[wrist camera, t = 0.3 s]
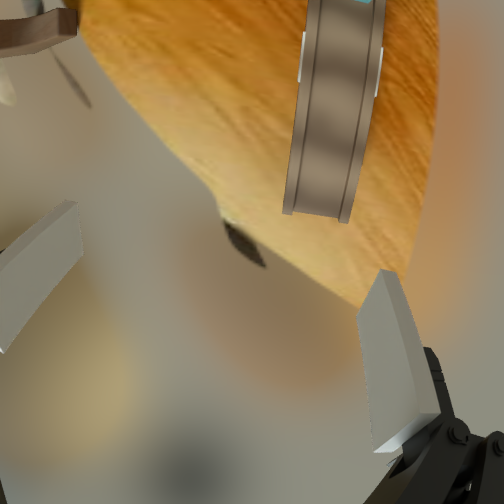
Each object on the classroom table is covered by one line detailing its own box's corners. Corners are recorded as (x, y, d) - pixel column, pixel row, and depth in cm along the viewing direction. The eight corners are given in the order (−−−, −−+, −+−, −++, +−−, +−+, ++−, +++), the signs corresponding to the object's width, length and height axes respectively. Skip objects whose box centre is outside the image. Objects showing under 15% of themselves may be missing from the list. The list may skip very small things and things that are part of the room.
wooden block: (77, 9, 27) (-21, 4, 12) (78, 36, 30) (-22, 42, 15) (34, 28, 28) (-59, 38, 13) (34, 54, 31) (-59, 72, 16)
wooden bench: (310, -54, 22) (313, -81, 15) (372, -41, 21) (390, -64, 15) (282, 186, 39) (280, 213, 32) (340, 195, 39) (349, 224, 32)
